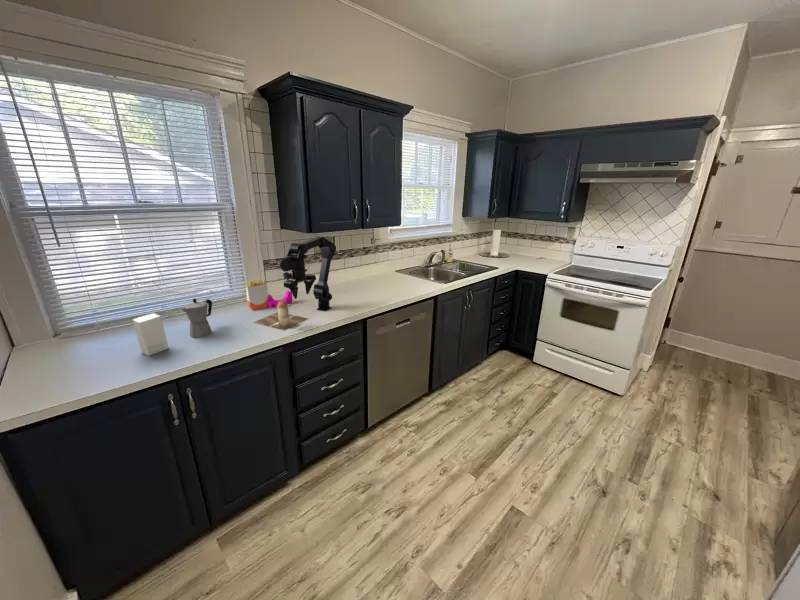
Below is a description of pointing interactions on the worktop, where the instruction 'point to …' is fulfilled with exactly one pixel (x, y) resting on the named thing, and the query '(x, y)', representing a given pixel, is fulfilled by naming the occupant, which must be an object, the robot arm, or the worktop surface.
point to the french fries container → (257, 295)
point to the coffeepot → (198, 318)
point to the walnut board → (274, 321)
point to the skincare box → (150, 334)
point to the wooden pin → (283, 314)
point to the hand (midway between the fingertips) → (301, 296)
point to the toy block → (286, 298)
